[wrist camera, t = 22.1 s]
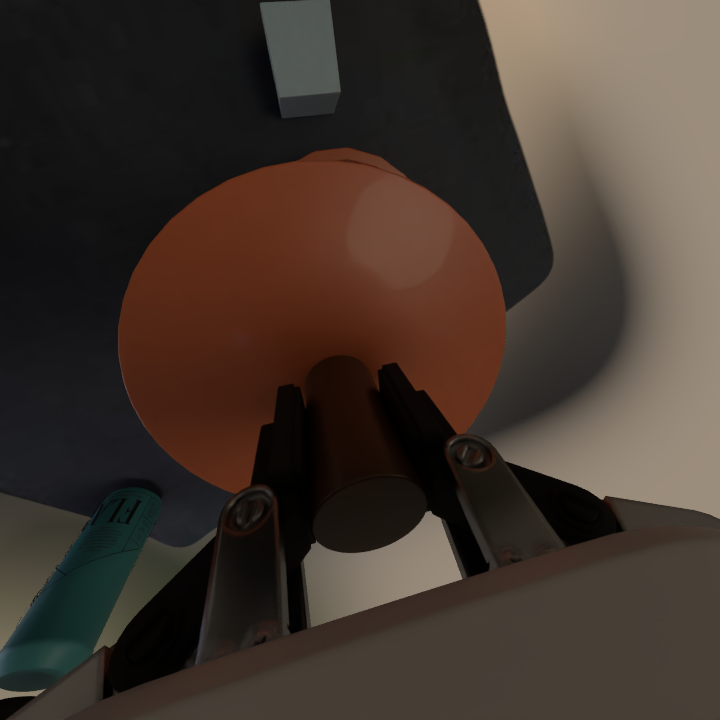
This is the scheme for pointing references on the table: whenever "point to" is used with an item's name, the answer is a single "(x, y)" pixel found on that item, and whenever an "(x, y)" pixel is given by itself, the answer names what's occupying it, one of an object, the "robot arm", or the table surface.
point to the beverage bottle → (77, 597)
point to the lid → (312, 333)
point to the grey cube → (302, 56)
